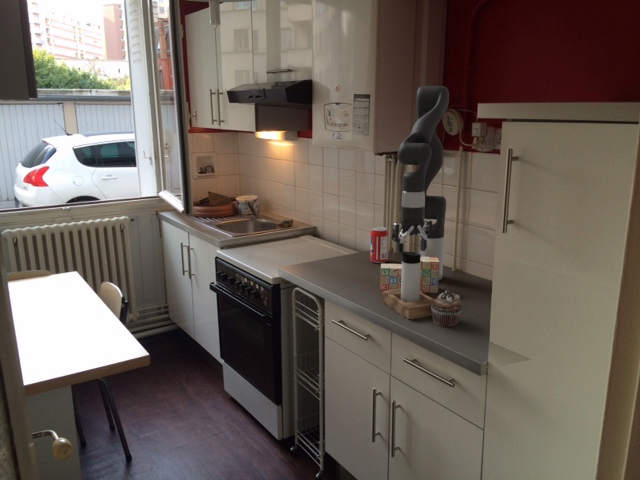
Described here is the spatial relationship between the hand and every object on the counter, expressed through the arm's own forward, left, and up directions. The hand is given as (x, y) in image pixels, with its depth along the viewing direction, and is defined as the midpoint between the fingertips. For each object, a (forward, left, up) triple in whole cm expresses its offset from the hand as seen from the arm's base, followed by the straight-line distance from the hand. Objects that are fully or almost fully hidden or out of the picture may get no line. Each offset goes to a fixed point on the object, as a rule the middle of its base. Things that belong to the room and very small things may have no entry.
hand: (411, 252), depth 184 cm
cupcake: (+15, +4, -20) cm, 25 cm away
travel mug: (0, 0, -20) cm, 20 cm away
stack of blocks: (-17, +10, -20) cm, 28 cm away
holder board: (0, 0, -20) cm, 20 cm away
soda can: (-55, +17, -20) cm, 61 cm away
